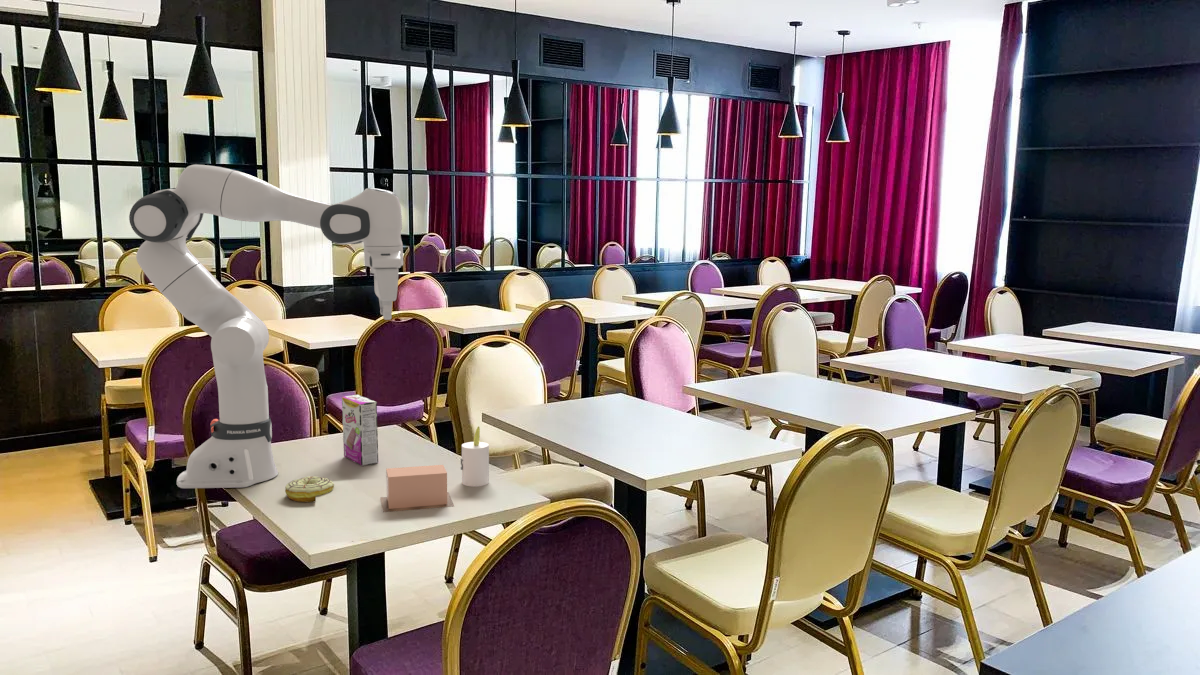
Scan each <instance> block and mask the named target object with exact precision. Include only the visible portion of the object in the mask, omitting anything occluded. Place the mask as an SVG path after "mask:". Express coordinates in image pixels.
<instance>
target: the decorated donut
mask: <svg viewBox="0 0 1200 675" xmlns="http://www.w3.org/2000/svg"><path fill="white" fill-rule="evenodd" d="M334 486H335V484H334V482H333V481H332V480H330V479H329V478H327V477H324V476H323V477H322V476H305V477H300V478H298V479H294V480H292V481H290V482H288V483H287V484H286V485H285V488H284V492H285V494H286V496H287V498H288V499H289V500H291V501H293V502H298V503H299V502H302V503H310V502H316V501H317V500H316V499H317V496H323V495H325V494H328V493H330V492H332V491H333V490H334V488H335V487H334Z"/></svg>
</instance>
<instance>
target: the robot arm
mask: <svg viewBox="0 0 1200 675" xmlns="http://www.w3.org/2000/svg"><path fill="white" fill-rule="evenodd" d="M204 214H209V215H212V216H213V215H214V216H217V217H221V218H225V219H229V220H232V221H233V220H234V221H239V222H249V223H251V222H252V223H253V222H254V223H261V222H274V221H277V222H280V221H281V222H291V223H297V224H301V225H305V226H308V227H313V228H317V229H320V231H321V232H322V235H323V236H324V237H325V238H326V239H327V240H328V241H330V242H332V243H334V244H337V245H358V244H359V245H360V244H362V243H363V253H364V254H363V257H364V260H363V261H364V266H365V267H369V268H370V272H369V273H370V274H373V280H374V281H373V282H374V283H373V284H374V286H373V287H374V288H373V289H374V293H375V295H376V297H377V298H378V302H379V309H380V311H379V312H380V315H381V316H382V318H383V320H385V321H388V320H389V321H390V320H392V317H393V316H392V310H393V302H395V301H396V300H397V298H398V290H399V289H398V287H399V269H400V268H402V267H403V266H404V247H403V246H404V244H403V241H402V236H401V233H402V229H403V219H402V217H403V216H402V207H401V202H400V198H399V196H398V195H397V194H396V193H395V192H393V191H390V190H387V189H381V188H375V187H367V188H365V189H364V190H363V191H361V192H360V193H358V194H356V195H355V196H353V197H350V198H348V199H346V200H343V201H340V202H336V203H333V204H332V203H327V202H323V201H319V200H314V199H310V198H307V197H302V196H299V195H295V194H293V193H290V192H288V191H285V190H283V189H281V188H280V187H278V186H275V185H273V184H271V183H269V182H267V181H266V180H263V179H260V178H259V177H256V176H253V175H251V174H248V173H245V172H242V171H239V170H235V169H232V168H231V169H230V168H227V167H222V166H215V165H209V164H207V165H205V164H191V165H188V166H187V167H185V168H184V169H183V171H182V172H181V173H180V175H179V177H178V180H177V185H176V187H173V188H167V189H160V190H157V191H155V192H153V193H150V194H147V195H145V196H143V197H140V198H139V199H138V200H137V201H136V202H135V203H134V204H133V205H132V207H131V209H130V211H129V216H128V217H129V218H128V220H129V225H130V226H131V229H132V231H133V232H134V233H135V234H136V235H137V236H138V237H139V238H141V239H143V240H145V241H144V242H142V243H141V244H140V246H139V248H138V250H137V252H136V255H135V256H136V262H137V264H138V265H139V267H140V268H141V270H142V271H143V273H144V275H146V277H147V279H149V281H150V282H151V283H152V284H153V286H154V287H155V288H156V289H157V291H159V293H161V294H162V295H163V296H164V297H165V299H166V300H168V302H169V303H170V304H171V305H172V306H173V307H174V308H175V309H176V310H177V311H178V312H179V313H180V314H181V315H182V316H183V317H184V318H185V319H186V320H187V321H188V322H191V323H193V324H195V326H197V327H198V328H199V329H200V330H202V331H203V332H205V333H206V334H207V335H209V336H210V337H211V340H210V351H211V354H212V362H213V369H214V374H215V378H216V379H215V380H216V384H217V393H218V394H217V395H218V412H219V413H218V414H219V419H218V418H213V419H212V420H211V421H210V435H211V437H210V438H208V439H207V440H205V441H204V442H203V443H201V445H199V446H198V447H197V448H195V449H194V450H193V451H192V452H191V454H190V455H189V457H188V459H187V463H186V470H184V471H182V472H181V473H179V475H178V476H177V478H176V485H177V487H178V488H180V489H215V488H216V489H220V488H222V489H225V488H226V489H227V488H248V487H250V486H253V485H254V484H258V483H261V482H265V481H269V480H271V479H273V478H275V477H277V476H278V475H279V471H278V468H277V465H276V462H275V459H274V454H273V449H272V438H273V431H272V430H273V429H272V428H273V426H272V420H271V417H270V415H269V414H270V413H269V390H268V388H269V387H268V383H267V376H266V371H265V363H264V351H265V350H266V349H267V347H268V344H269V341H270V333H269V329H268V327H267V325H266V324H265V322H264V321H263V320H262V319H260V318H259V317H258V316H257V315H256V314H255V313H254V312H253V311H252V310H251V309H250V308H249V307H248V306H247V305H245V304H244V303H243V302H241V300H239V299H238V298H237V297H236V296H235V295H234V294H232V293H231V292H230V291H229V290H228V289H227V288H225V286H224V285H222V284H221V283H220V281H219V280H218V279H217V278H216V277H215V276H214V275H213V274H212V273H211V271H209V270H208V269H207V268H206V266H204V265H203V264H202V263H201V261H199V259H198V258H197V257H196V256H195V255H194V254H193V253H192V252H191V251H190V250H189V248H188V246H187V241H189V240H191V239H192V237H193V235H194V234H195V232H196V230H197V229H198V227H199V226H200V224H201V222H202V220H203V217H204Z"/></svg>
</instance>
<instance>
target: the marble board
mask: <svg viewBox="0 0 1200 675" xmlns="http://www.w3.org/2000/svg"><path fill="white" fill-rule="evenodd" d="M379 499H380V503H381V508H382V513H392V512H403V511H414V510H415V511H417V510H425V509H440V508H451V507H455V505H454V502H453V500H452V497H451V495H450V493H449V492H448V491H447V504H444V505H432V506H419V507H407V508H394V509H389V507H388V502H387V496H382V497H380V498H379Z"/></svg>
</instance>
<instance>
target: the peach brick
mask: <svg viewBox="0 0 1200 675" xmlns="http://www.w3.org/2000/svg"><path fill="white" fill-rule="evenodd" d="M385 470H386V472H385V473H386V475H385V476H386V478H385V479H386V497H387V502H388V507H389V509H394V508H407V507H419V506H432V505H444V504H447V492H448V472H447V470H446V468H445V465H444V464H436V465H435V464H433V465H421V466H420V465H419V466H405V467H391V468H386V469H385Z"/></svg>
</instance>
